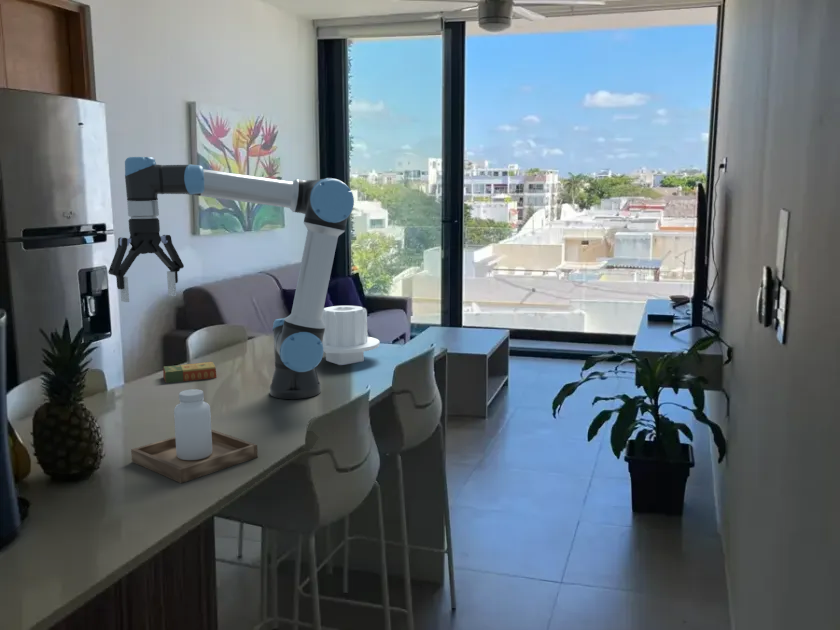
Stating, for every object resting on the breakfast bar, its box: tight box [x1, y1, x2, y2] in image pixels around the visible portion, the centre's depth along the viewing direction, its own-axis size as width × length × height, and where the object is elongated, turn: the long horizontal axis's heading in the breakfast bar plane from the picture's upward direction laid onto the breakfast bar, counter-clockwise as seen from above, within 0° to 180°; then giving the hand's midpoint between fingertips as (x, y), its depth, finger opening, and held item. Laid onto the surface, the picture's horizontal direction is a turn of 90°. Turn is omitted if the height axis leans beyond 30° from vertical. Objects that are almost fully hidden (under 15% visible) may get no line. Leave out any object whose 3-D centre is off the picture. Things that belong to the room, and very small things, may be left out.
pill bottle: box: [173, 388, 212, 460], centre depth 173 cm, size 8×8×15 cm
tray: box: [130, 428, 259, 484], centre depth 174 cm, size 20×20×3 cm
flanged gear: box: [322, 305, 381, 366], centre depth 270 cm, size 25×25×19 cm
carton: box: [162, 361, 217, 384], centre depth 250 cm, size 8×16×4 cm, turn 112°
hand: (149, 298), depth 201 cm, fingers open, 13 cm apart
